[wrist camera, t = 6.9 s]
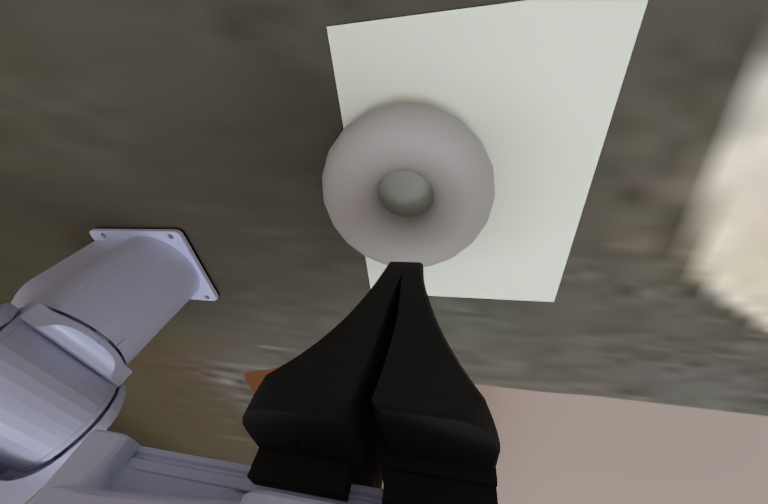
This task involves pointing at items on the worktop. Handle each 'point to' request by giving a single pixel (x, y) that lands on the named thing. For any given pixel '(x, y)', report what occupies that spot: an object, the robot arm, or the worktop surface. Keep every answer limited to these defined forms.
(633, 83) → the worktop surface
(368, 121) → the donut
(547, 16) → the mat
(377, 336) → the robot arm
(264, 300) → the worktop surface
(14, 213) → the worktop surface
